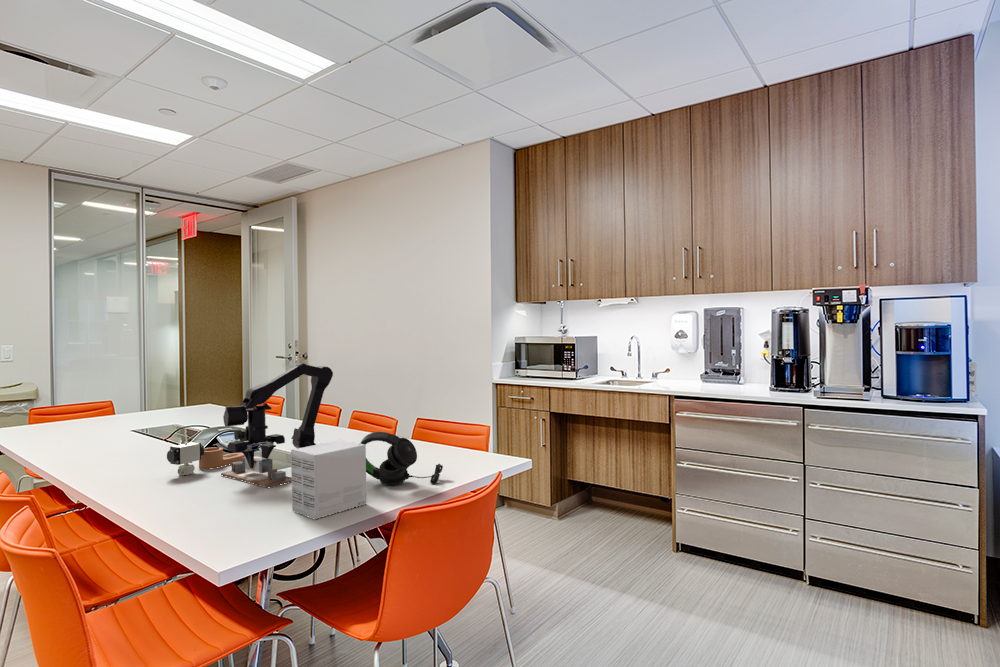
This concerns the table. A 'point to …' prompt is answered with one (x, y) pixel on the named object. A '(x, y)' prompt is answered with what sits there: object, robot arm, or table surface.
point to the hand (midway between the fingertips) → (257, 467)
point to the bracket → (218, 458)
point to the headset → (395, 460)
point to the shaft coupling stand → (257, 476)
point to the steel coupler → (258, 464)
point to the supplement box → (328, 478)
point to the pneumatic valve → (185, 456)
